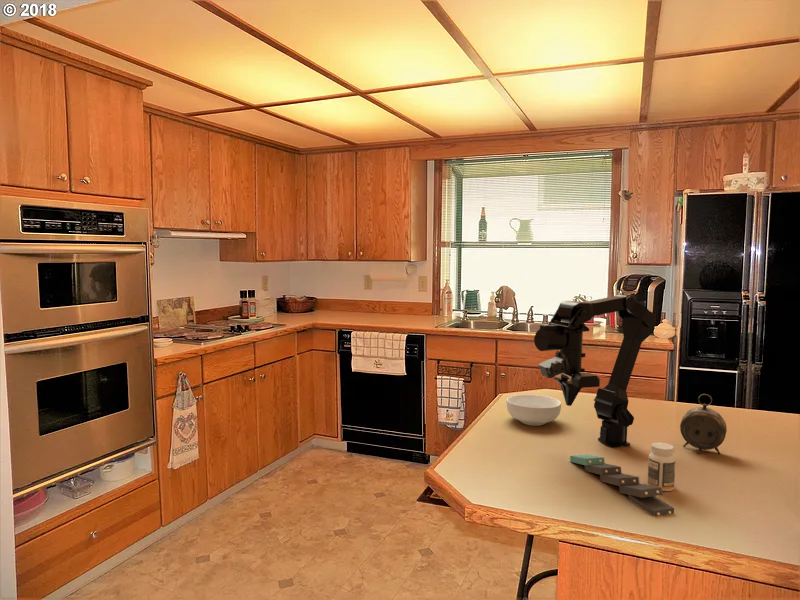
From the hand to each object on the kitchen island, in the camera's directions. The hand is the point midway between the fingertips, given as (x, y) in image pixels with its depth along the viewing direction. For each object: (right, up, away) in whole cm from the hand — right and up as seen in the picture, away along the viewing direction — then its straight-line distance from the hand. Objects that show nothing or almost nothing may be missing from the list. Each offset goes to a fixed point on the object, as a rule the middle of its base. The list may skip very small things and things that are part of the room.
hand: (568, 405), depth 150 cm
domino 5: (+8, -15, -26) cm, 31 cm away
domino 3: (+5, -14, -17) cm, 22 cm away
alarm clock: (+37, -13, +2) cm, 39 cm away
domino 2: (+3, -13, -10) cm, 17 cm away
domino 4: (+7, -14, -24) cm, 28 cm away
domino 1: (+1, -13, -5) cm, 14 cm away
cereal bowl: (-3, -11, +27) cm, 29 cm away
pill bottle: (+15, -15, -20) cm, 30 cm away
